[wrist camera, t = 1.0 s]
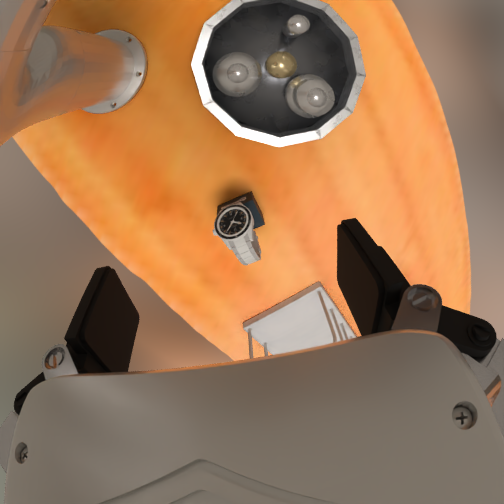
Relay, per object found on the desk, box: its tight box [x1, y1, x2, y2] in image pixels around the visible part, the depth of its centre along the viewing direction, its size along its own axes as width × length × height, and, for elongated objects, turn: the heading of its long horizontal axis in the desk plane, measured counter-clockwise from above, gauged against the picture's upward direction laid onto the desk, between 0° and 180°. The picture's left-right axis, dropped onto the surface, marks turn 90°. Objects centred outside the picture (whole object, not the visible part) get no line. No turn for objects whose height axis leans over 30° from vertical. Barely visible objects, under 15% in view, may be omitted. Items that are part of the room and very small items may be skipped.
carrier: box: [195, 3, 348, 134], centre depth 30 cm, size 22×22×6 cm
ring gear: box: [191, 0, 366, 147], centre depth 30 cm, size 21×21×3 cm
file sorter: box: [243, 282, 357, 359], centre depth 54 cm, size 25×17×16 cm
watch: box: [213, 191, 265, 265], centre depth 39 cm, size 6×8×11 cm
